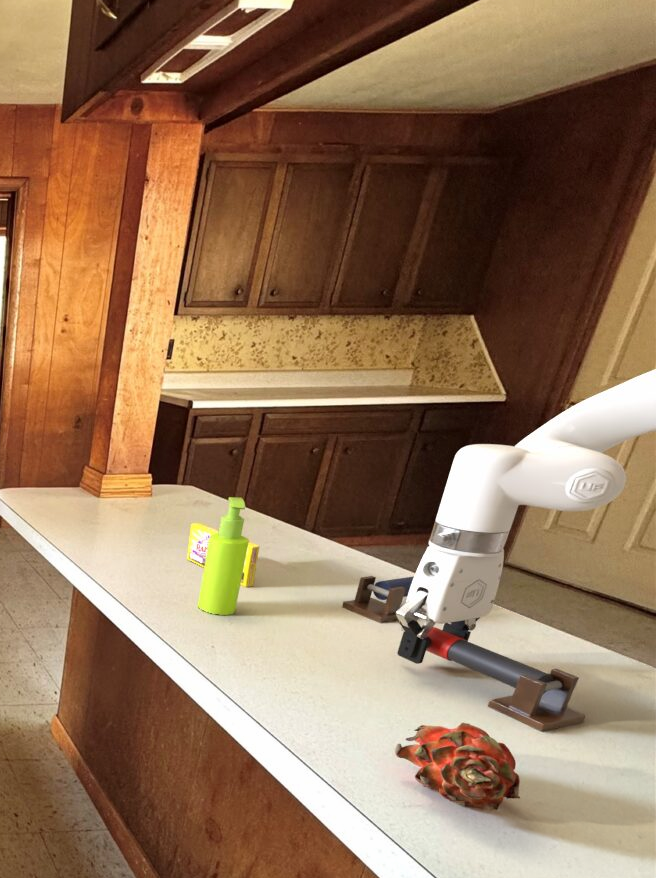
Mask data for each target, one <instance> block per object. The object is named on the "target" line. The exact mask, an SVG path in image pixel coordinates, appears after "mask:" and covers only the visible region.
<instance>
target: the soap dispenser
mask: <svg viewBox="0 0 656 878" xmlns="http://www.w3.org/2000/svg"><path fill="white" fill-rule="evenodd" d="M228 502H229V505H228V510H227V514H225V515H223V516H221V518H220V523H219V529H218V530H219V533H216V534H212V535H210V538H209V543H208V549H207V555H206V561H205V567H204V568H203V573H202V580H201V585H200V590H199V597H198V602H197V607H199V608H200V609H199V608H198V609H199V610H201V609H202V610H204V611H206V612H205V613H207V612H209V613H208V614H210V613H212V614H211V615H215V614H219V615H218V616H229V614H230V615H233V614H235V613H236V608H237V603H238V598H239V592H240V588H241V585H240V583H241V578H242V573H243V568H244V563H245V558H246V553H247V548H248V543H249V542H250V539H249V538H248V537H246V536H243V535H242V533H243V527H244V523H245V518H243V517H242V516H241V515H240V513H241V510H245V509H246V502H245V500H244V499H243V498H242V497H233V496H232V497H231V496H229V497H228ZM202 610H201V611H202ZM204 611H203V612H204Z"/></svg>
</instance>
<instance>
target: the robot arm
mask: <svg viewBox="0 0 656 878" xmlns="http://www.w3.org/2000/svg"><path fill="white" fill-rule="evenodd" d="M652 432H656V368H655V369H652V370H650V371H648V372H645V373H642V374H641V375H637V376H635V377H633V378H631V379H628V380H626V381H625V382H621V383H620V384H617V385H615V386H613V387H611V388H609V389H606V390H604V391H602V392H599V393H597V394H594V395H593V396H590V397H589V398H586V399H583V400H582V401H580V402H578V403H576V404H574V405H573V406H571V407H569V408H567V409H566V410H564V411H562V412H561V413H559V414H558V415H556V416H554V417H553V418H551V419H550V420H549V421H547V422H546V423H544V424H543V425H541V426H540V427H538V428H537V429H535V430H534V431H533V432H531V433H529V435H527V436H525V437H524V438H523V439H521V440H520V441H519V442H517V444H515V445H507V444H496V443H494V444H493V443H492V444H491V443H476V444H475V443H474V444H469V445H465V446H463V447H461V448H460V449H459V450H458V451H457V452H456V453H455V455H454V458H453V461H452V464H451V468H450V471H449V474H448V478H447V481H446V484H445V487H444V491H443V494H442V497H441V501H440V503H439V507H438V511H437V514H436V517H435V521H434V524H433V527H432V530H431V533H430V536H429V539H428V545H429V546H427V547H426V550H425V552H424V553H423V555H422V558H421V559H420V562H419V564H418V567H417V569H416V571H415V574H414V575H413V576H414V578H413V581H412V584H411V587H410V590H409V593H408V596H407V597H406V601H405V603H404V604H402V605H401V606H400V609H399V610H397V612H396V616H397V618H398V619H399V620H398V621H399V625H400V626H401V632H402V635H401V639H400V642H399V646H398V649H397V652H396V653H397V656H399V657H401V658H403V659H405V660H407V661H410V662H411V663H414V664H416V665H417V664H418V665H419V664H422V663H423V661H424V658H425V655H426V652H427V651H426V649H427V646H428V643H429V640H430V639H429V638H426V636H427V635H428V634H429V632H430V631H431V629H432V628H433V627H435V626H436V624H438V625H439V624H440V625H442V624H443V626H442V630H443V631H446V632H450V633H452V634H453V635H456V636H458V637H461V638H463V639H465V640H466V641H468V642H469V639H470V637H471V633H472V631H474V630H475V629H476V627H477V622H478V621H479V620H480V619H481V618H483V617H485V616H488V614H490V613H491V611H492V609H493V607H494V603H495V599H496V596H497V593H498V590H499V587H500V586H499V585H500V582H501V577H502V574H503V573H502V572H503V568H504V567H503V566H504V559H505V549H504V548H505V545H506V542H507V540H508V537H509V534H510V530H511V529H512V525H513V523H514V521H515V517H516V514H517V511H518V508H519V506H531V507H537V508H542V509H547V510H548V509H549V510H553V511H559V512H560V511H561V512H586V511H590V510H591V511H592V510H595V509H598V508H600V507H601V508H602V507H603V506H605V505H608V504H609V503H611V502H613V501H614V500H615V499H616V498H618V497H619V496H620V495H621V493H622V492H623V491H624V489H625V487H626V483H627V474H626V471H625V469H624V467H623V466H622V465H621V464H620V462H618V461H617V460H616V459H614V458H613V457H611V456H610V455H608V454H605V452H606V451H608V450H610V449H612V448H613V447H616V446H617V445H619V444H622V443H624V442H627V441H629V440H632V439H635V438H637V437H640V436H643V435H646V434H649V433H652ZM422 612H426V614H424V613H422ZM419 619H422V620H425V621H424V623H423V624H422V626H421V625H420V622H419V621H418V620H419Z"/></svg>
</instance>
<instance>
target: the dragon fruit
mask: <svg viewBox="0 0 656 878" xmlns="http://www.w3.org/2000/svg"><path fill="white" fill-rule="evenodd" d="M410 730H411V729H408V731H410ZM413 731H414V732H416V733H415V735H414V736H411V737H406V738H405V741H407V742H413V741H414V742H416V743H418V744H408V745H404V746H402V744H401V743H397V744H396V746H395V749H394V754H395V756H396V757H397V758H399V759H405V760H407V761H409V763H412V764H414V765H416V766H417V767H420V768H419V770H418V771H417V773H415V775H414V779H415V780H416V781H417V782H418V783H419V784H420V785H421V786H422V787H424V788H428V789H430V790H431V789H435V790H438V792H439V794H440V796H441V797H443V798H444V799H446V800H449V802H452V803H454V804H457V805H460V806H462V807H468V806H471V805H473V806H474V807H476V808H477V809H479V810H481V811H498V810H499V808H500V806H501V805H502V803H503V802H504V798H506V800H510V799H511V800H512V799H521V796H520V792H519V791H520V781H521V780H520V775H519V774H518V773H517V772H515V769H516V759H515V757H514V755H513V753H512V751H511V750H510V748H508V747H507V745H506V744H505V743H503V742H498V741H497V740H496V739H495V738H493V737H491V735H489V734H488V733H487V731H486V730H484V729H482V728H480V727H477V726H475V725H472V724H470V723H466V722H461V723H460V724H459V725H458V726H457V727H455V728H448V727H445V726H442V725H441V726H440V725H439V726H438V725H437V726H436V725H426V724H421V725H419V726H418V727H417V728H415V729H413Z"/></svg>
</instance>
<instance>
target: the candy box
mask: <svg viewBox="0 0 656 878" xmlns="http://www.w3.org/2000/svg"><path fill="white" fill-rule="evenodd" d="M216 533H219V529H217V528H216V529H215V528H214V527H212V526H211V527H210V526H208V525H205V524H203V523H200V522H194V523H191V524H190V531H189V538H188V546H187V554H186V560H187V559H188V560H190V561H192V562H194V563H196V564H195V565H197V564H198V565H197V566H199V565H200V566H199V567H201V566H202V567H201V568H203V567H205V561H206V555H207V549H208V543H209V538H210V535H212V534H216ZM260 547H261V546H260V545H259V544H256V543H254V542H250V541H249V543H248V548H247V553H246V558H245V563H244V568H243V573H242V578H241V583H240V586H243V587H245V588H249V587H253V586H254V580H255V575H256V568H257V564H258V563H257V562H258V558H259V551H260ZM188 560H187V561H188ZM190 561H189V562H190ZM192 562H191V563H192ZM194 563H193V564H194Z"/></svg>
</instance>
